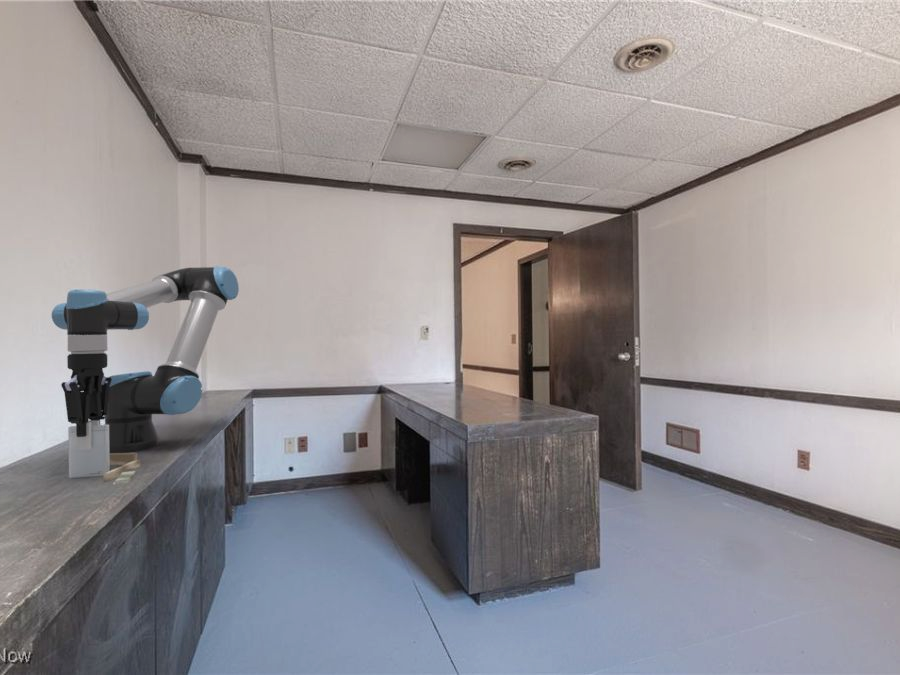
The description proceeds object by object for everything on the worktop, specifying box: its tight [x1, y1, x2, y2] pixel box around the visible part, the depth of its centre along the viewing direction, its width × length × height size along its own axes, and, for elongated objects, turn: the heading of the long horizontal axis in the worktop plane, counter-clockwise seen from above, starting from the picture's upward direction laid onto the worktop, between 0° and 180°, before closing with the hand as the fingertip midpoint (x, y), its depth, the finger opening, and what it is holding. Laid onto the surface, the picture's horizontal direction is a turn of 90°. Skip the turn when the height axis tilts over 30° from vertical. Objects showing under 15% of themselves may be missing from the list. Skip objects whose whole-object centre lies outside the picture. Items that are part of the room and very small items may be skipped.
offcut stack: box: [112, 470, 136, 485], centre depth 102 cm, size 8×3×1 cm, turn 23°
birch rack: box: [103, 452, 142, 483], centre depth 107 cm, size 16×13×3 cm
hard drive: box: [67, 424, 111, 479], centre depth 105 cm, size 2×8×12 cm, turn 103°
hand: (88, 447), depth 105 cm, fingers open, 2 cm apart
